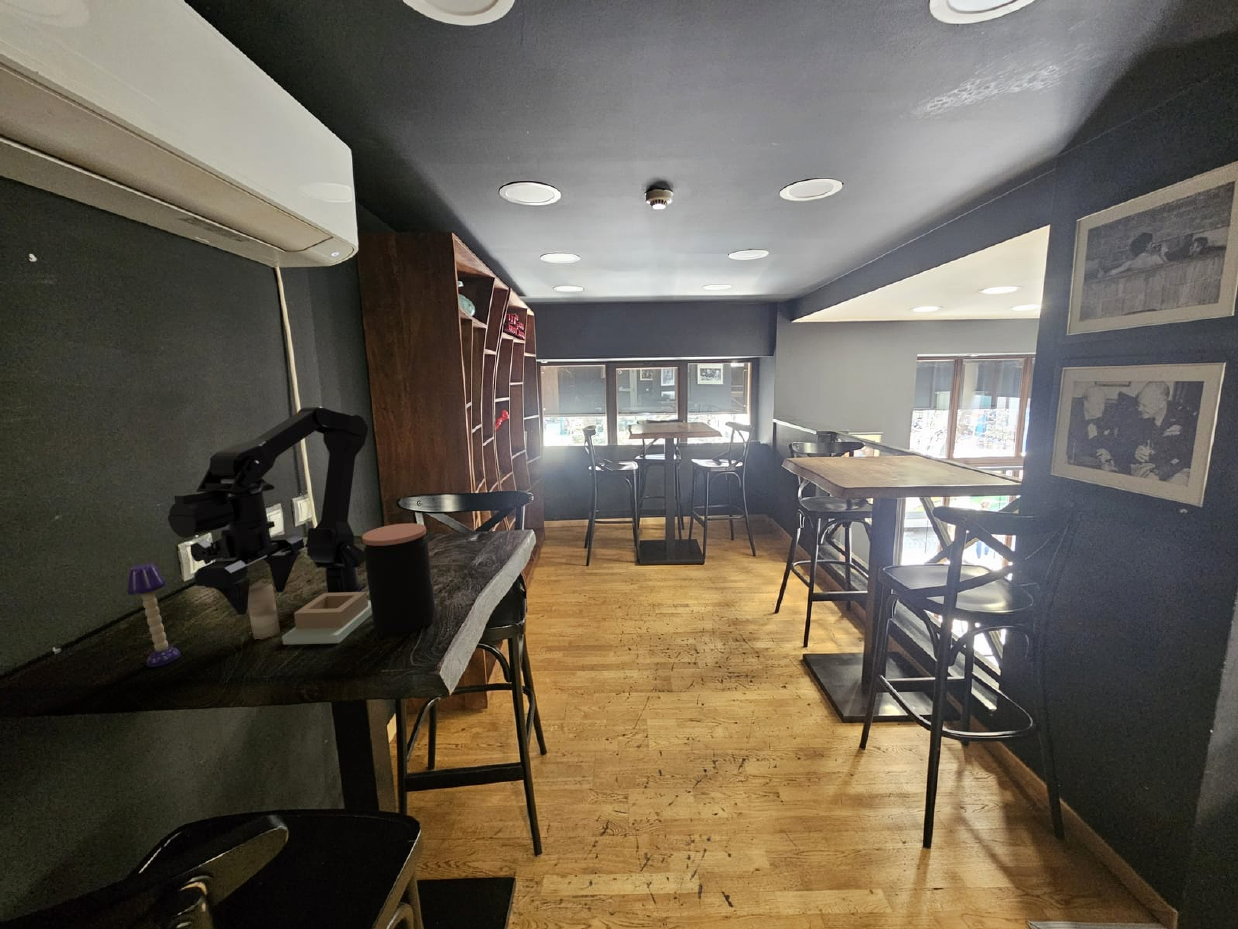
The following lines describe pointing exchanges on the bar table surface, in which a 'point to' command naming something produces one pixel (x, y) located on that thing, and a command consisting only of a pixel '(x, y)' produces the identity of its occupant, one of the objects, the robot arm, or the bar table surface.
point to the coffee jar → (399, 578)
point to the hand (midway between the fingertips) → (262, 602)
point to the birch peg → (263, 611)
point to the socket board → (329, 618)
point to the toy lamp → (152, 610)
